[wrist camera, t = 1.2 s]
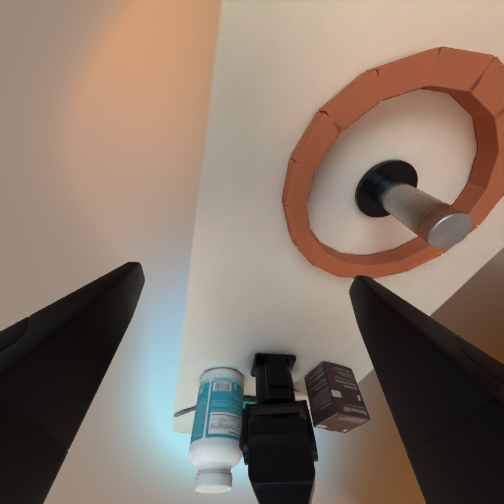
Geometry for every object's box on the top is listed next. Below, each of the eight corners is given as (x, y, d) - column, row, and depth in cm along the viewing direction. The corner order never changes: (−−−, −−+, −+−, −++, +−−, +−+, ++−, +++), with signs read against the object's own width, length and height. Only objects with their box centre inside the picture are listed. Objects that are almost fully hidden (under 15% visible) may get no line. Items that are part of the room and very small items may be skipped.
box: (352, 368, 37) (372, 420, 31) (330, 383, 40) (345, 433, 34) (322, 360, 35) (338, 413, 29) (302, 377, 38) (313, 428, 32)
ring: (421, 273, 25) (432, 284, 23) (269, 260, 24) (270, 271, 22) (566, 76, 15) (601, 73, 13) (314, 34, 13) (322, 26, 12)
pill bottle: (214, 389, 41) (202, 497, 30) (193, 371, 37) (169, 488, 26) (250, 381, 39) (251, 492, 28) (232, 361, 35) (224, 481, 24)
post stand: (396, 217, 21) (461, 268, 14) (346, 212, 20) (391, 261, 14) (426, 163, 18) (523, 196, 12) (368, 156, 18) (436, 185, 11)
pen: (222, 400, 42) (174, 418, 47) (223, 397, 42) (175, 415, 47) (219, 398, 42) (171, 416, 46) (220, 394, 42) (172, 413, 47)
